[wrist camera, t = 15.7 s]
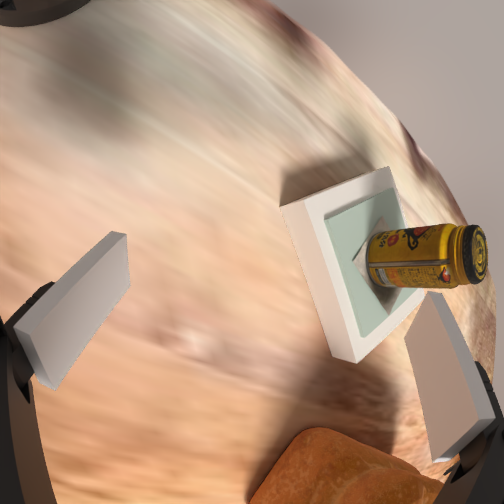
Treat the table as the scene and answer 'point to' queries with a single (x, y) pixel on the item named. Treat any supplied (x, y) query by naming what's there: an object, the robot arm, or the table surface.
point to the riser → (348, 259)
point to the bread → (342, 474)
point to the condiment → (421, 259)
